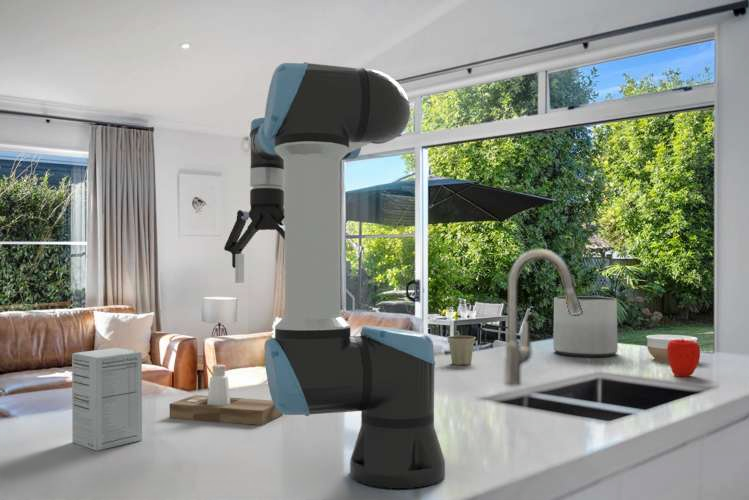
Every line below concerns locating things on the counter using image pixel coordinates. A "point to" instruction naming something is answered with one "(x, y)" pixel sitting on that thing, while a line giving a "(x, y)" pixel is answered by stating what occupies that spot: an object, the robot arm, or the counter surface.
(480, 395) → the counter surface
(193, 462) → the counter surface
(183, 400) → the brown flat tray
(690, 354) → the apple
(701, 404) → the counter surface
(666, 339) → the bowl
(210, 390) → the pepper shaker
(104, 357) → the supplement box
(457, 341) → the flower pot
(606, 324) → the planter
